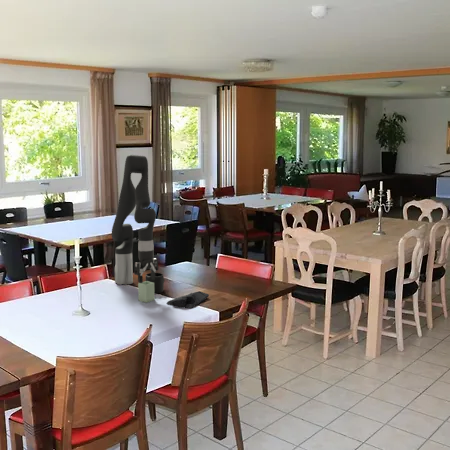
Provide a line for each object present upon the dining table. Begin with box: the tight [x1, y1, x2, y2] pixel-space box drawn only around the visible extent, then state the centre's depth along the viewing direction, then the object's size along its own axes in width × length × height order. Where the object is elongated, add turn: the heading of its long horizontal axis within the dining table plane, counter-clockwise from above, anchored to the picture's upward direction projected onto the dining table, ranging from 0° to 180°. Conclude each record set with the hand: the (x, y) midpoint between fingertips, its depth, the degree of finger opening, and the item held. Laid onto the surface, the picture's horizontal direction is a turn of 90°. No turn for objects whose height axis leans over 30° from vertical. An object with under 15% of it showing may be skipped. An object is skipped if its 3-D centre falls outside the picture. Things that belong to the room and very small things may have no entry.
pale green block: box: [137, 280, 155, 304], centre depth 278 cm, size 6×6×9 cm
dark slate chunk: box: [166, 291, 210, 310], centre depth 278 cm, size 15×22×5 cm
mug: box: [145, 272, 165, 294], centre depth 296 cm, size 9×12×9 cm
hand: (146, 281), depth 278 cm, fingers open, 8 cm apart
